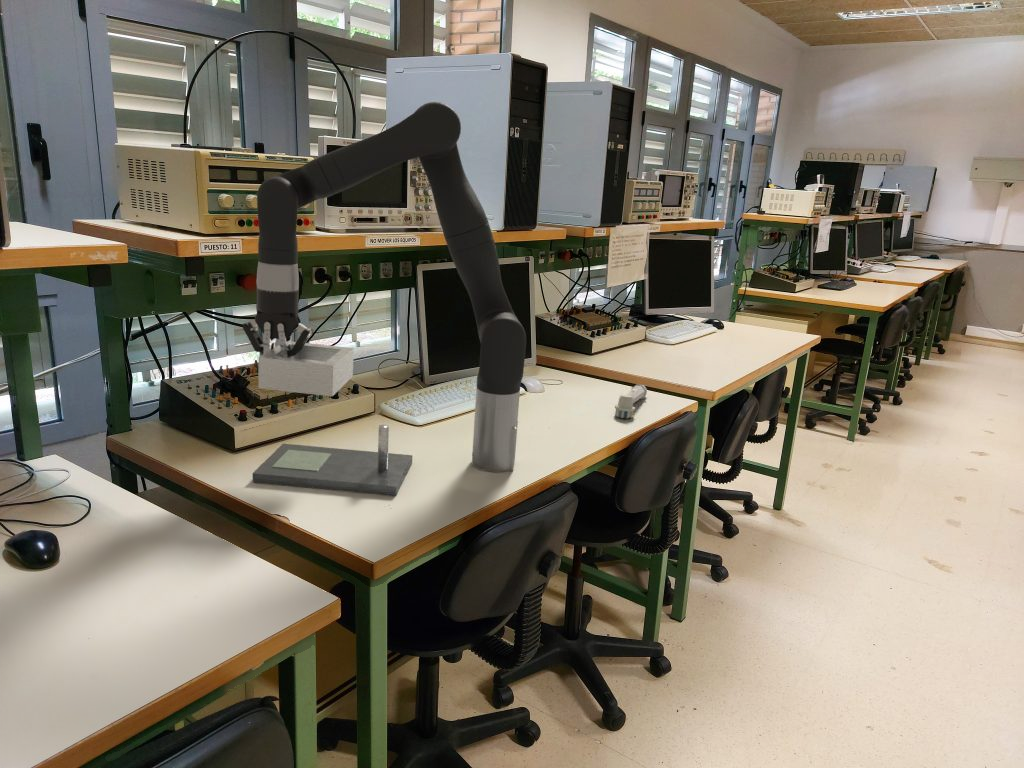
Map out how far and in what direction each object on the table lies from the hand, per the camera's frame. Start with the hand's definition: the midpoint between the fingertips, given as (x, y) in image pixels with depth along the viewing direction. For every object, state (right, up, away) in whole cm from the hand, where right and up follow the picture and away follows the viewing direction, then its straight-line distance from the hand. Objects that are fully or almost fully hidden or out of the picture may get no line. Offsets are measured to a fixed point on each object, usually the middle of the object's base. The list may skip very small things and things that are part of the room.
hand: (277, 373), depth 140 cm
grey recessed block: (+6, -2, 0) cm, 6 cm away
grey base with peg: (+10, -20, +5) cm, 23 cm away
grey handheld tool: (+80, -9, +63) cm, 102 cm away
